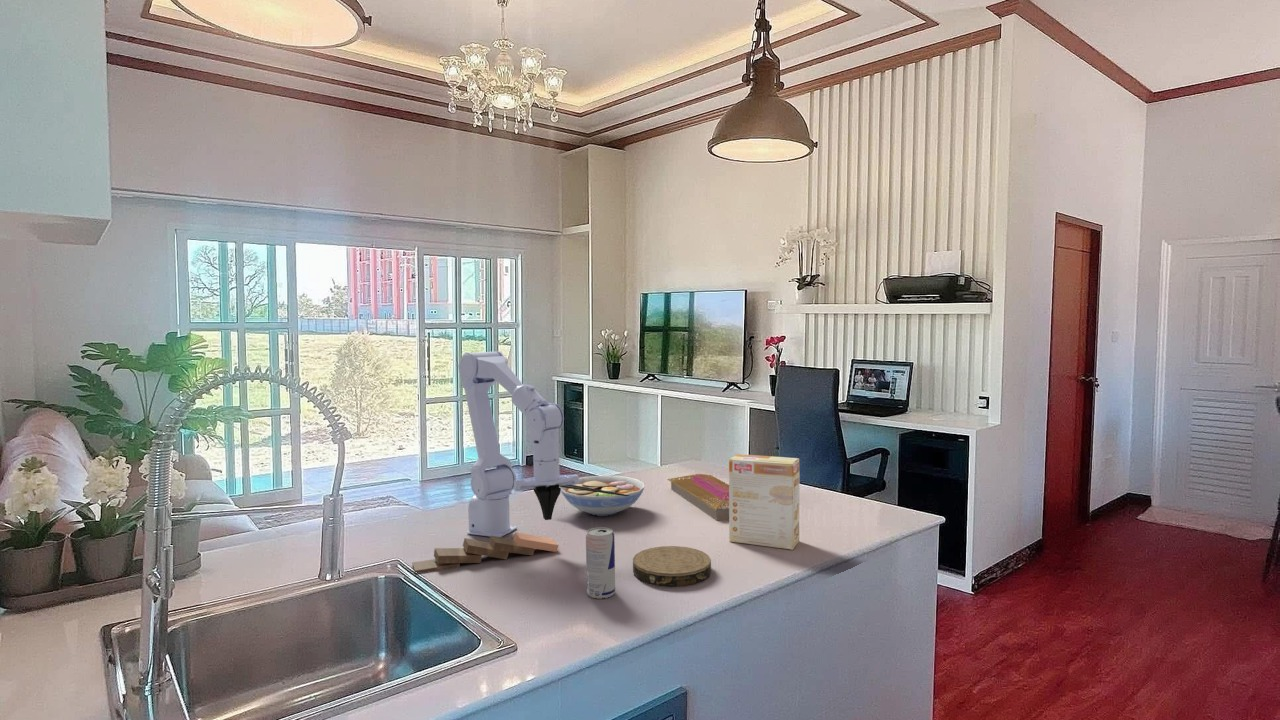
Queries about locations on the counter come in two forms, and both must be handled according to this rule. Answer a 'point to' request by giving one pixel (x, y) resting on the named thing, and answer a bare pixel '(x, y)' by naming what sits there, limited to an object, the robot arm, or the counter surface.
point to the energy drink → (600, 562)
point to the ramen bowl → (603, 494)
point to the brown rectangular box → (704, 493)
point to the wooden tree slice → (672, 566)
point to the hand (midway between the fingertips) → (547, 518)
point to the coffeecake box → (764, 500)
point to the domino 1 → (432, 565)
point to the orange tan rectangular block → (535, 542)
